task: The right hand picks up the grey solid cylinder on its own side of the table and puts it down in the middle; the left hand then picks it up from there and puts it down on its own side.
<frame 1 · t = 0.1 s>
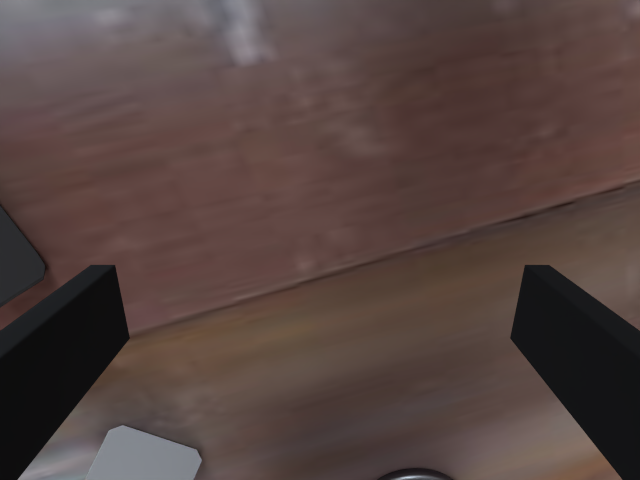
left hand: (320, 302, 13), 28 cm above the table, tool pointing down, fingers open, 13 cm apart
electronic device: (153, 453, 52), on the table
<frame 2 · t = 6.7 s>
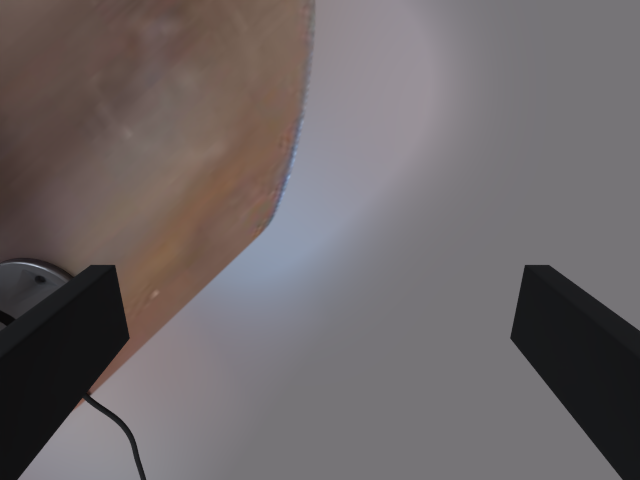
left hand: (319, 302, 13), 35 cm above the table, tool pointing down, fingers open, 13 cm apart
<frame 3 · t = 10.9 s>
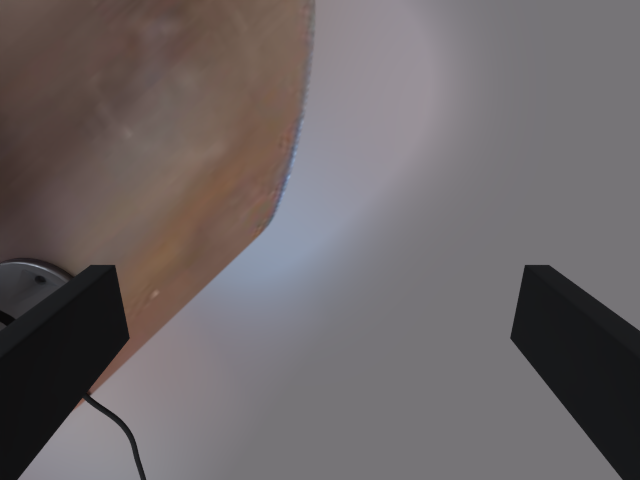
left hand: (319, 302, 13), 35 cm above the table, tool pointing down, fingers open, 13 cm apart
when the right hand's fingers open (2 cm above the table, at t = 15.1 s): grey solid cylinder stays where it is, on the table.
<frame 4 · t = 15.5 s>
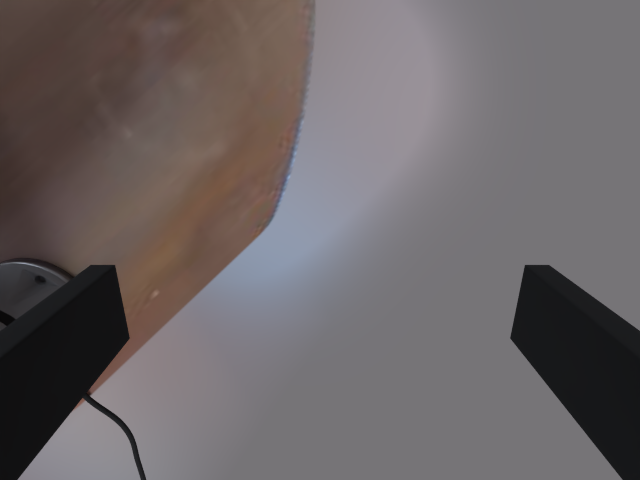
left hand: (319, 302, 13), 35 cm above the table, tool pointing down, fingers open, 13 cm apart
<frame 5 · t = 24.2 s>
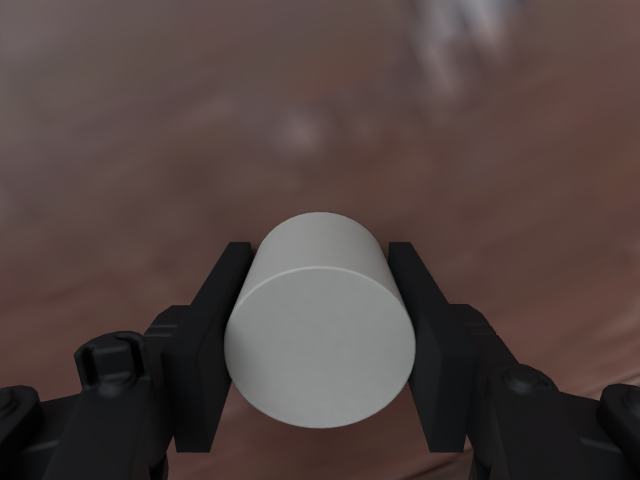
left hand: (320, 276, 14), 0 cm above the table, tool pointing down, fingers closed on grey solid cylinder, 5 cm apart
grey solid cylinder: (319, 275, 15), on the table, touching left hand
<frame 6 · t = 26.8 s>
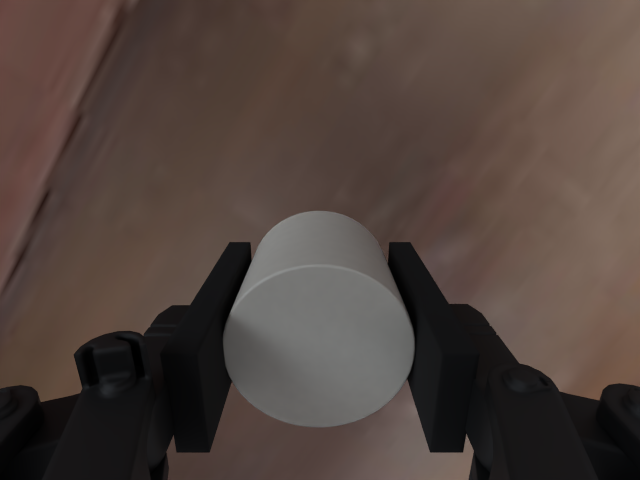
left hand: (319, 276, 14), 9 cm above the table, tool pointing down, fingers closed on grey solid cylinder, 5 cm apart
grey solid cylinder: (319, 274, 15), point 9 cm above the table, touching left hand
when the left hand's fingers open (1 cm above the table, at t = 29.4 s): grey solid cylinder stays where it is, on the table.
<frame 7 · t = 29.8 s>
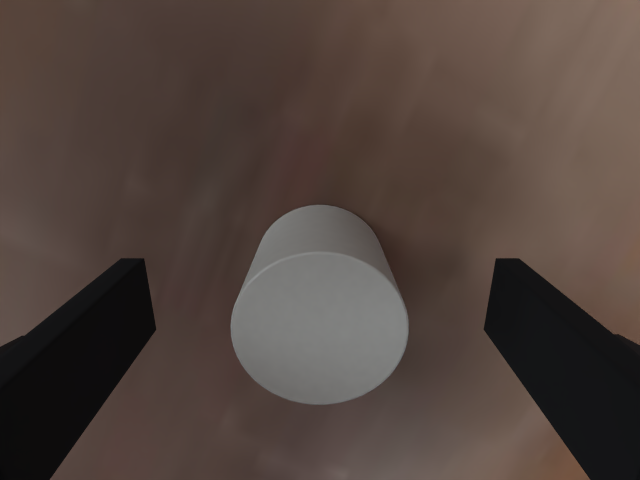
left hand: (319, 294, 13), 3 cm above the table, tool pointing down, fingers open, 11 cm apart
grey solid cylinder: (319, 265, 16), on the table
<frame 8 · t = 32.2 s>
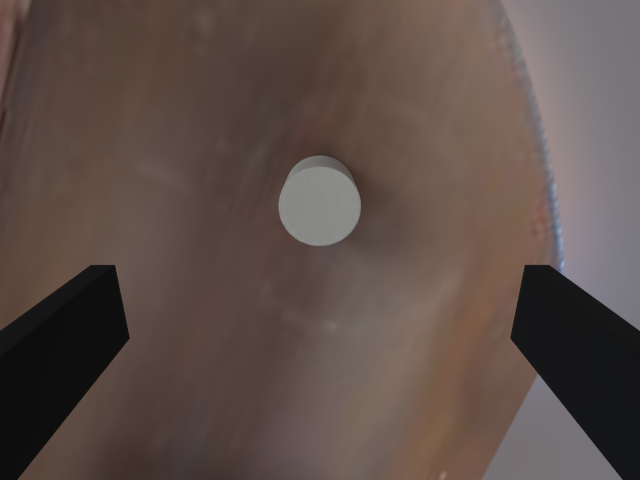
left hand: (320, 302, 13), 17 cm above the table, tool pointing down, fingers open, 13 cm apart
grey solid cylinder: (319, 190, 28), on the table
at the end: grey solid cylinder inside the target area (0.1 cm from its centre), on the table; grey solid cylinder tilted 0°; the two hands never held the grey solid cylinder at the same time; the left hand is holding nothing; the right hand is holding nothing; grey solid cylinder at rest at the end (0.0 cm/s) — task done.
